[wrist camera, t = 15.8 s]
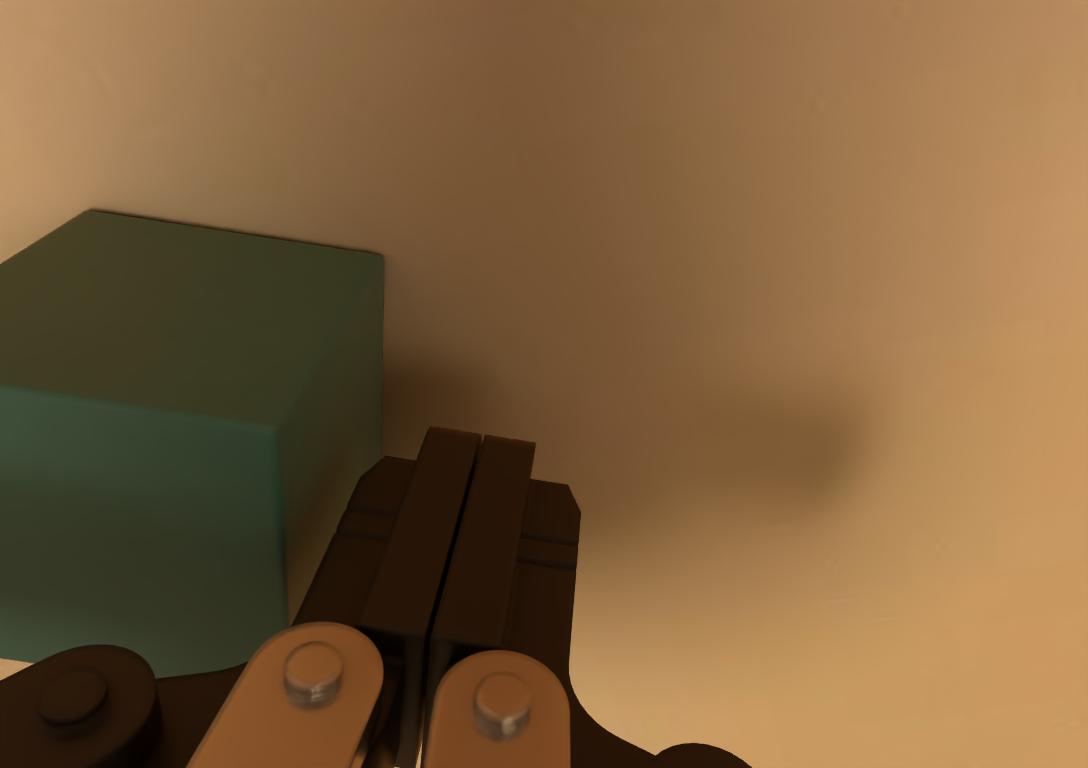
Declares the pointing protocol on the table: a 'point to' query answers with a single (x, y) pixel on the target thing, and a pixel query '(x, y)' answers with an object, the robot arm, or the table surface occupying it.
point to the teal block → (177, 434)
